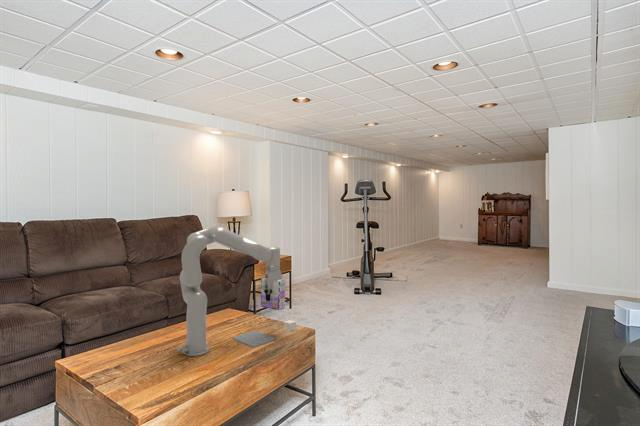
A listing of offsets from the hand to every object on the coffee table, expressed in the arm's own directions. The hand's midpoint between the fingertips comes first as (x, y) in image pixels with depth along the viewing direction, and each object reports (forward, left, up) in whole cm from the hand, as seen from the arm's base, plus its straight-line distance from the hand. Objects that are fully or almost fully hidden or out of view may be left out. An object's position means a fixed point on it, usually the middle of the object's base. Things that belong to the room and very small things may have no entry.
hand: (272, 299), depth 205 cm
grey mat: (-10, +4, -21) cm, 24 cm away
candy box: (0, 0, -5) cm, 5 cm away
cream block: (+14, 0, -21) cm, 25 cm away
